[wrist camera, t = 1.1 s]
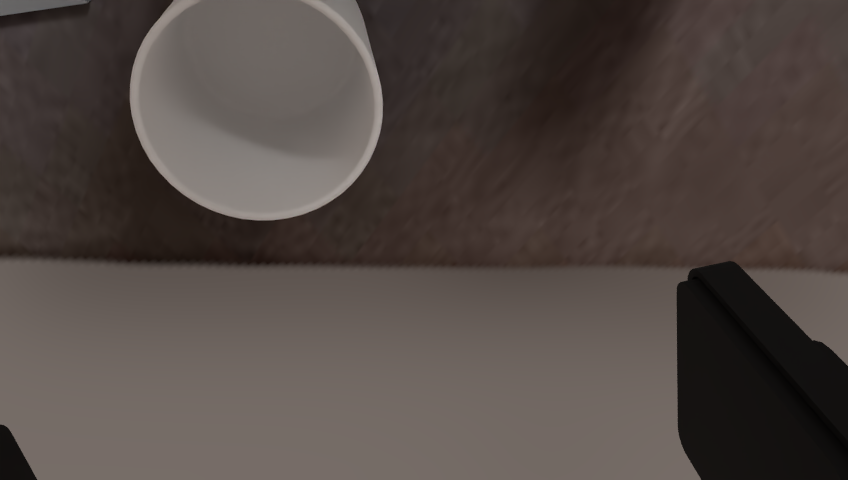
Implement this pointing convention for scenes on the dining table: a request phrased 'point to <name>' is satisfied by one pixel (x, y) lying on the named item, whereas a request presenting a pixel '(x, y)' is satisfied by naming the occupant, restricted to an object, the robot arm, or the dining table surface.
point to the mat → (34, 5)
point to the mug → (258, 103)
